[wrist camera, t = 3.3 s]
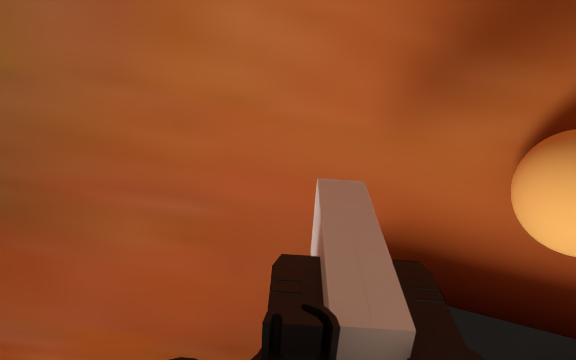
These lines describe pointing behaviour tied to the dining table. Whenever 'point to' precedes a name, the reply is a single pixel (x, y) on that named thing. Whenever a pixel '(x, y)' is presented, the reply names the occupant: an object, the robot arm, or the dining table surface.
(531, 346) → the lantern
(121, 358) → the dining table surface
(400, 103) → the dining table surface
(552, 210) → the ball
